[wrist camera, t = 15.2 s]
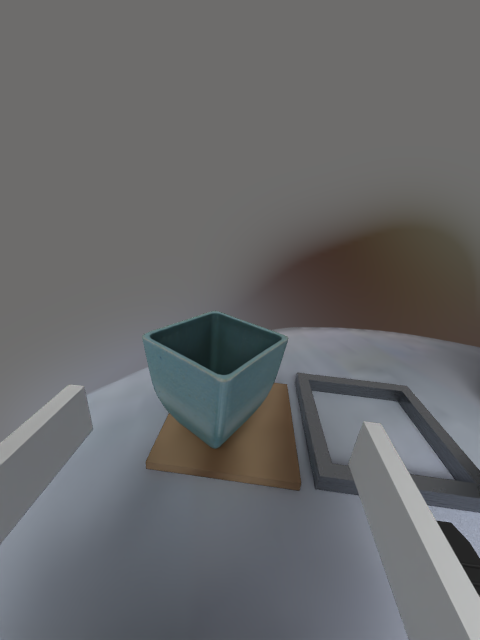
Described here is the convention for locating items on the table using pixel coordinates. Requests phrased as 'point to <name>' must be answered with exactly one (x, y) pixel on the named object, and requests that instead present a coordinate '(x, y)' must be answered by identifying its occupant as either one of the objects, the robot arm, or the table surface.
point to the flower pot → (213, 371)
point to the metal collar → (471, 483)
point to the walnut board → (236, 448)
